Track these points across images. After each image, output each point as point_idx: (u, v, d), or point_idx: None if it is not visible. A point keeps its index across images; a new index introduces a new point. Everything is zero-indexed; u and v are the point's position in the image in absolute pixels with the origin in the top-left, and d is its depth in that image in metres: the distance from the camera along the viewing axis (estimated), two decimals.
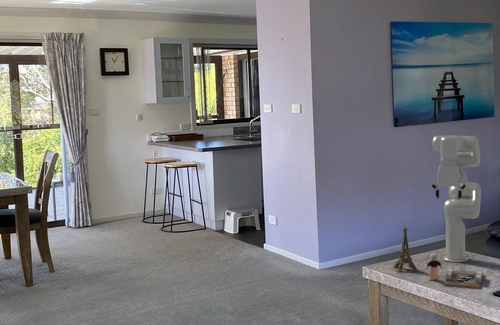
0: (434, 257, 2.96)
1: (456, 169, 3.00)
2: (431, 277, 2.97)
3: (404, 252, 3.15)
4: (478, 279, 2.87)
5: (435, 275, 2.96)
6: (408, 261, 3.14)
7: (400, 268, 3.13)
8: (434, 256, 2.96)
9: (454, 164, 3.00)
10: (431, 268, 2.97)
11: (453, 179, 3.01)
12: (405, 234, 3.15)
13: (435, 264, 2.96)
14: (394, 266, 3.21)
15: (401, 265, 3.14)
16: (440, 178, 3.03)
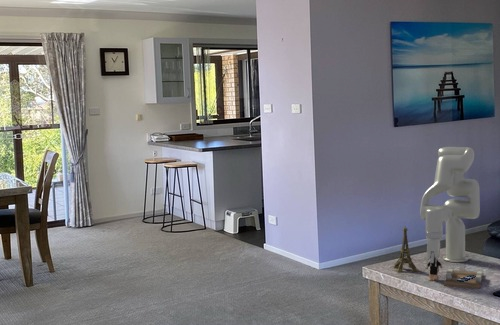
0: None
1: None
2: (431, 277, 2.97)
3: (404, 252, 3.15)
4: (478, 279, 2.87)
5: (435, 275, 2.96)
6: (408, 261, 3.14)
7: (400, 268, 3.13)
8: None
9: None
10: None
11: None
12: (405, 234, 3.15)
13: None
14: (394, 266, 3.21)
15: (401, 265, 3.14)
16: (437, 252, 2.92)
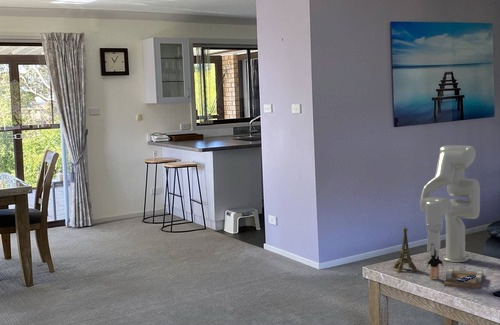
0: None
1: None
2: (432, 275, 2.98)
3: (404, 252, 3.15)
4: (478, 279, 2.87)
5: (435, 273, 2.97)
6: (408, 261, 3.14)
7: (400, 268, 3.13)
8: None
9: None
10: None
11: None
12: (405, 234, 3.15)
13: None
14: (394, 266, 3.21)
15: (401, 265, 3.14)
16: (438, 244, 2.92)
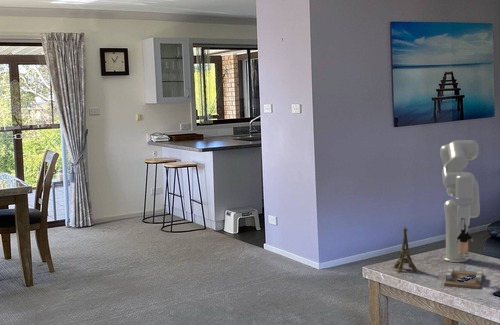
0: None
1: None
2: (461, 250, 2.94)
3: (404, 252, 3.15)
4: (478, 279, 2.87)
5: (465, 248, 2.92)
6: (408, 261, 3.14)
7: (400, 268, 3.13)
8: None
9: None
10: None
11: None
12: (405, 234, 3.15)
13: None
14: (394, 266, 3.21)
15: (401, 265, 3.14)
16: (468, 218, 2.88)
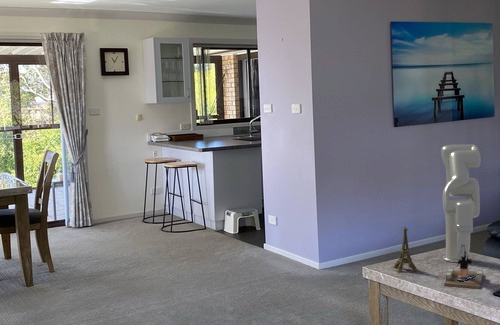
0: None
1: None
2: (461, 275, 2.95)
3: (404, 252, 3.15)
4: (478, 279, 2.87)
5: (465, 273, 2.93)
6: (408, 261, 3.14)
7: (400, 268, 3.13)
8: None
9: None
10: None
11: None
12: (405, 234, 3.15)
13: None
14: (394, 266, 3.21)
15: (401, 265, 3.14)
16: (468, 245, 2.89)
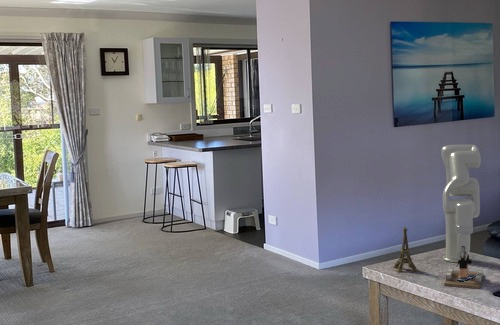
0: None
1: None
2: (461, 275, 2.95)
3: (404, 252, 3.15)
4: (478, 279, 2.87)
5: (465, 273, 2.93)
6: (408, 261, 3.14)
7: (400, 268, 3.13)
8: None
9: None
10: None
11: None
12: (405, 234, 3.15)
13: None
14: (394, 266, 3.21)
15: (401, 265, 3.14)
16: (468, 246, 2.89)
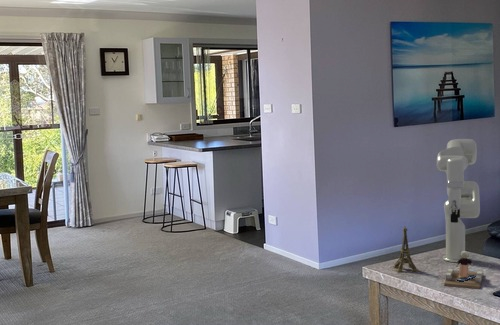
0: (464, 255, 2.93)
1: None
2: (461, 275, 2.95)
3: (404, 252, 3.15)
4: (478, 279, 2.87)
5: (465, 273, 2.93)
6: (408, 261, 3.14)
7: (400, 268, 3.13)
8: (464, 254, 2.93)
9: None
10: (461, 266, 2.94)
11: None
12: (405, 234, 3.15)
13: (465, 262, 2.94)
14: (394, 266, 3.21)
15: (401, 265, 3.14)
16: (459, 201, 2.97)
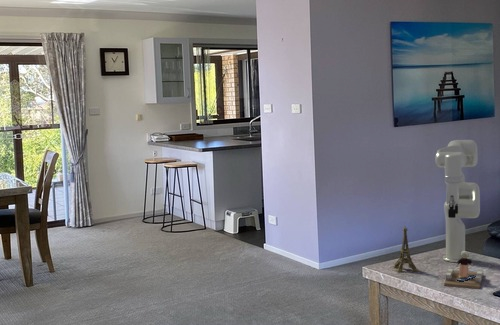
0: (464, 255, 2.93)
1: None
2: (461, 275, 2.95)
3: (404, 252, 3.15)
4: (478, 279, 2.87)
5: (465, 273, 2.93)
6: (408, 261, 3.14)
7: (400, 268, 3.13)
8: (464, 254, 2.93)
9: None
10: (461, 266, 2.94)
11: None
12: (405, 234, 3.15)
13: (465, 262, 2.94)
14: (394, 266, 3.21)
15: (401, 265, 3.14)
16: (457, 196, 2.98)
